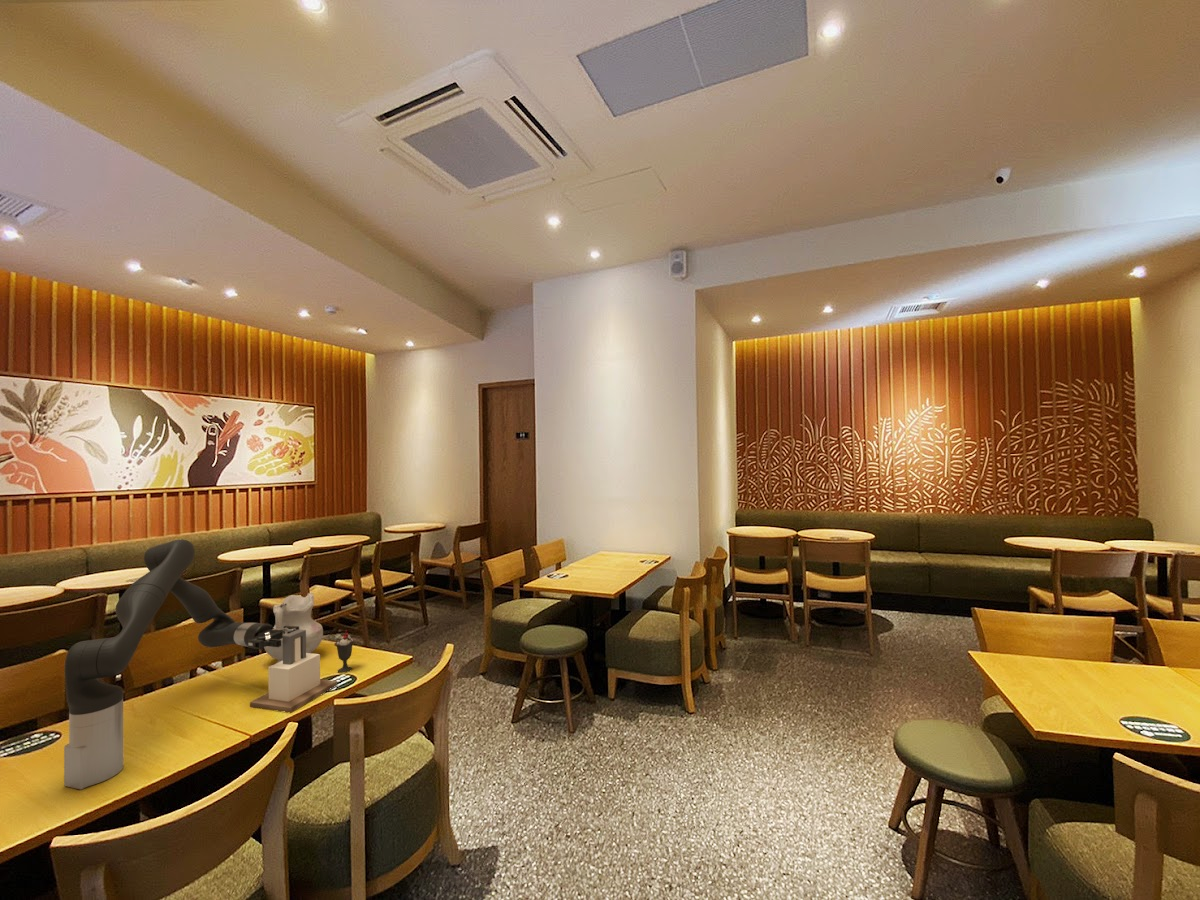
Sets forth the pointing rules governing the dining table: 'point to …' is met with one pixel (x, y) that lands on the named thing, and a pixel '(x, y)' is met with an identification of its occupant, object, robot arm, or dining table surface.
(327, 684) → the display base
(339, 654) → the sundae
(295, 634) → the gray u-shaped archway
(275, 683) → the white block with post
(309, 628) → the ceramic pitcher
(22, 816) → the dining table surface
